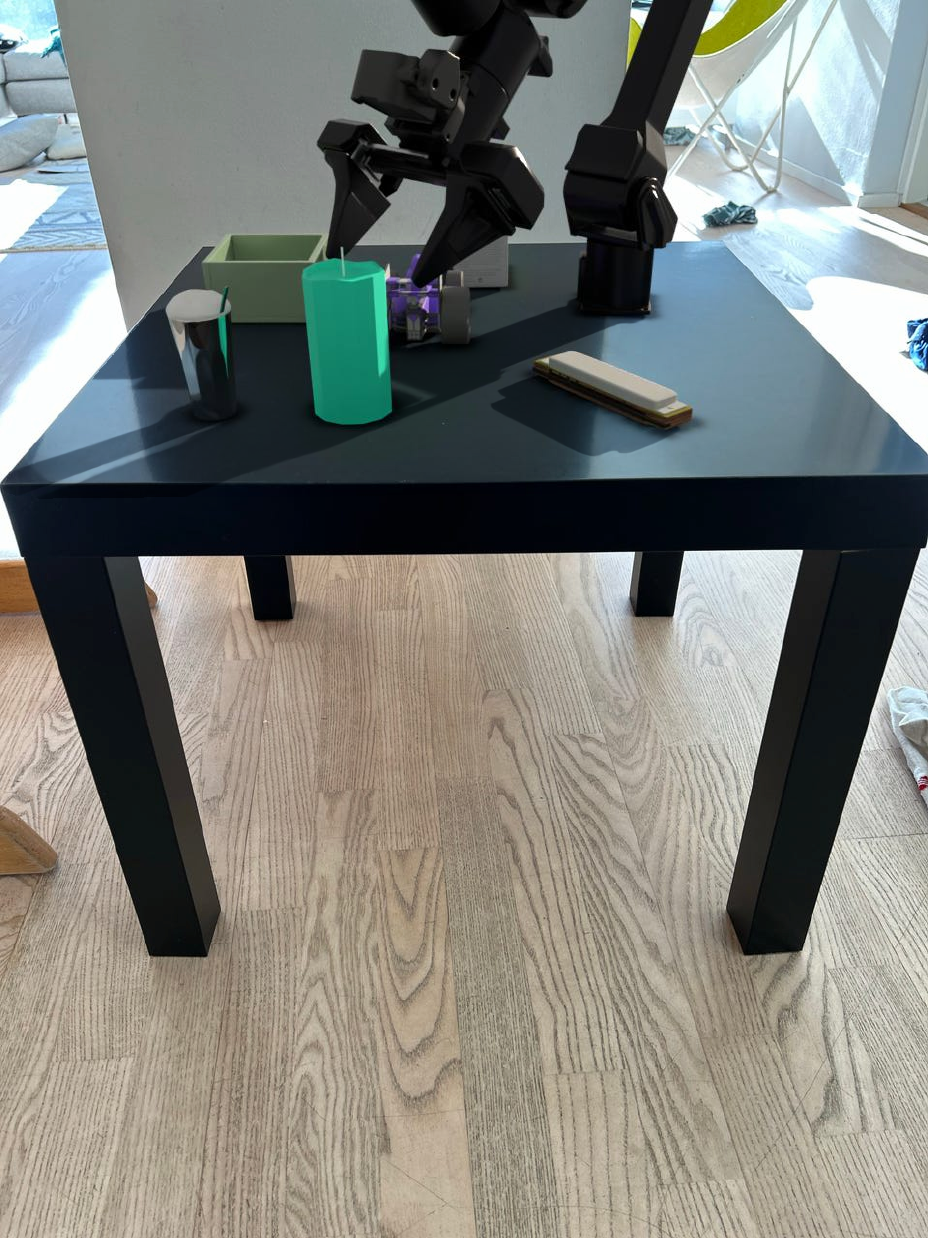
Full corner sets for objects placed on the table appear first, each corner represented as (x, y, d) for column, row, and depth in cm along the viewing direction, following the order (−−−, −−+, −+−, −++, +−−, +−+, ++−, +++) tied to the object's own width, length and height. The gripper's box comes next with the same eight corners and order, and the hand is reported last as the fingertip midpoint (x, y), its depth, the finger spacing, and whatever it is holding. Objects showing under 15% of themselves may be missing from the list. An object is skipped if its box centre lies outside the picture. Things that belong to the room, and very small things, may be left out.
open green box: (333, 289, 101) (329, 233, 98) (319, 322, 93) (313, 262, 90) (234, 289, 102) (226, 233, 99) (210, 322, 93) (201, 262, 90)
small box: (507, 288, 101) (509, 177, 95) (452, 289, 101) (450, 177, 95) (506, 266, 108) (507, 160, 102) (454, 266, 108) (452, 161, 102)
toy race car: (474, 298, 99) (473, 229, 95) (468, 352, 86) (468, 275, 83) (377, 297, 99) (373, 229, 95) (358, 351, 87) (353, 275, 83)
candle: (381, 427, 74) (371, 261, 67) (303, 421, 75) (286, 256, 68) (401, 396, 78) (394, 237, 72) (328, 390, 79) (314, 234, 73)
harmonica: (531, 375, 82) (532, 351, 81) (559, 366, 83) (560, 343, 82) (662, 434, 72) (665, 408, 71) (691, 423, 74) (695, 397, 73)
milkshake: (225, 432, 73) (203, 295, 67) (172, 417, 76) (147, 283, 70) (266, 410, 76) (248, 278, 71) (214, 396, 79) (193, 267, 73)
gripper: (325, -7, 71) (219, 182, 71) (523, 3, 61) (399, 225, 61) (408, 103, 81) (315, 271, 80) (593, 129, 70) (486, 322, 70)
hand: (371, 271), depth 73 cm, fingers open, 9 cm apart
